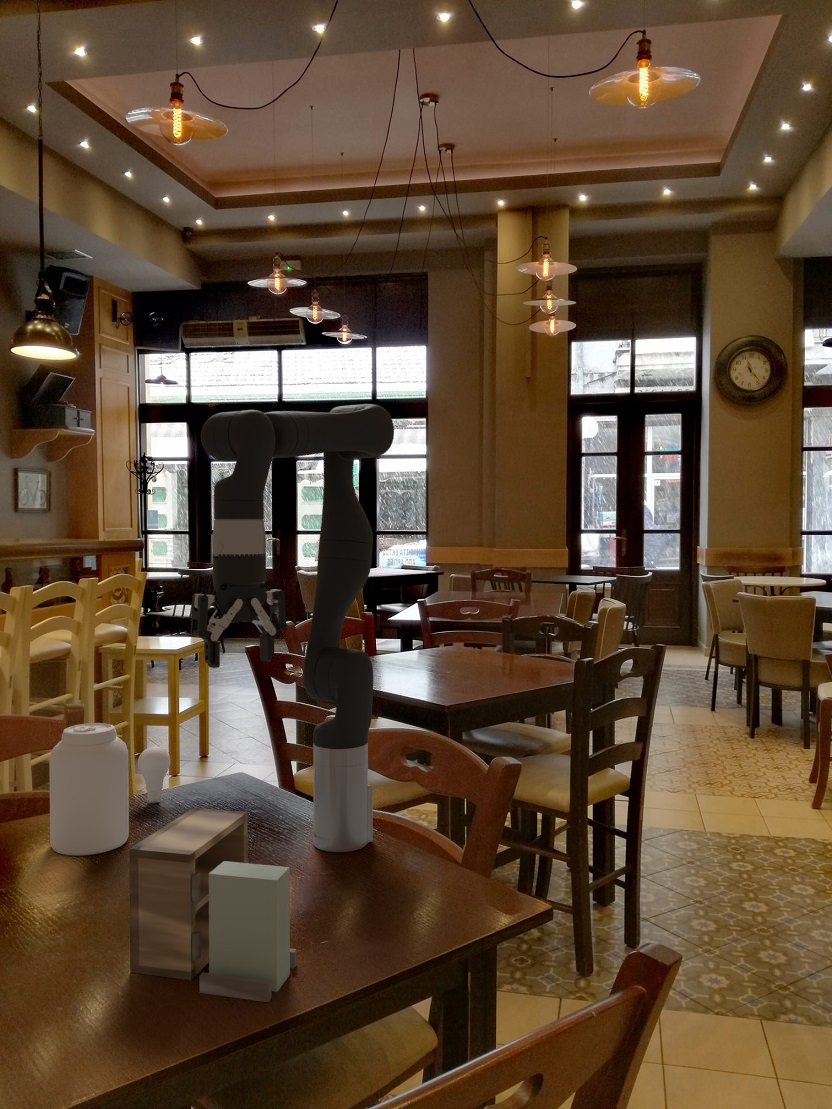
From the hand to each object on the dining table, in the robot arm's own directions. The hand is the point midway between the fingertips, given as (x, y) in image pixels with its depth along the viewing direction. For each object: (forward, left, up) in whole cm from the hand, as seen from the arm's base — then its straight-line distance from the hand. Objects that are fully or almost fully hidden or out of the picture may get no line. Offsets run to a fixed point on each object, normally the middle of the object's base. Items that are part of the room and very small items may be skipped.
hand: (240, 664), depth 125 cm
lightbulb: (-10, -50, -34) cm, 61 cm away
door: (+11, +21, -34) cm, 41 cm away
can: (+8, -36, -34) cm, 50 cm away
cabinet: (+10, +14, -34) cm, 38 cm away
